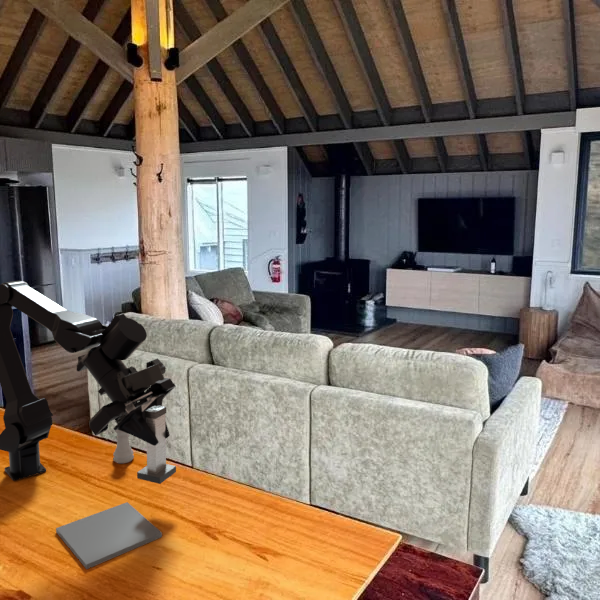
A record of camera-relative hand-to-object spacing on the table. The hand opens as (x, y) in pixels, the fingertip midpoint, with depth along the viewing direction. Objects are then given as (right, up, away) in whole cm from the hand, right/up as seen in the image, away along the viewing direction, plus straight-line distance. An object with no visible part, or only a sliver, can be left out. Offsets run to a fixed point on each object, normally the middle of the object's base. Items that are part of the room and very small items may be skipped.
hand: (162, 440), depth 101 cm
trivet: (-8, -14, -6) cm, 18 cm away
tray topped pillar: (-1, -7, +2) cm, 7 cm away
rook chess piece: (-14, -10, +21) cm, 28 cm away
